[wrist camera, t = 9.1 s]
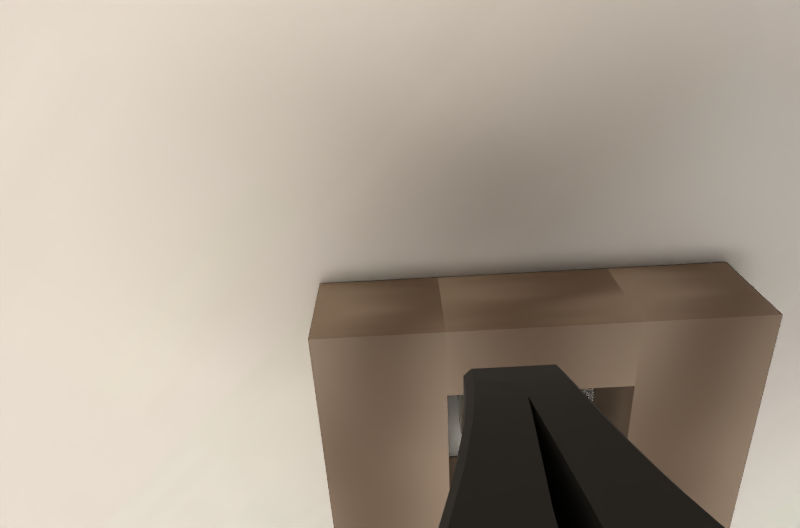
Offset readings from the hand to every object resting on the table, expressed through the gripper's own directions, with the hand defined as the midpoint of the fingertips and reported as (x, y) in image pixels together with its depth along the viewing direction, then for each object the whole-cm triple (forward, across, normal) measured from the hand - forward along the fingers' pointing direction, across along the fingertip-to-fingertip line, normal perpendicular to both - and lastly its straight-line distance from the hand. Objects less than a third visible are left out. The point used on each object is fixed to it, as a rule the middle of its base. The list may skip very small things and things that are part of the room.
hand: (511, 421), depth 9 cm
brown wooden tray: (+9, -2, +12) cm, 15 cm away
